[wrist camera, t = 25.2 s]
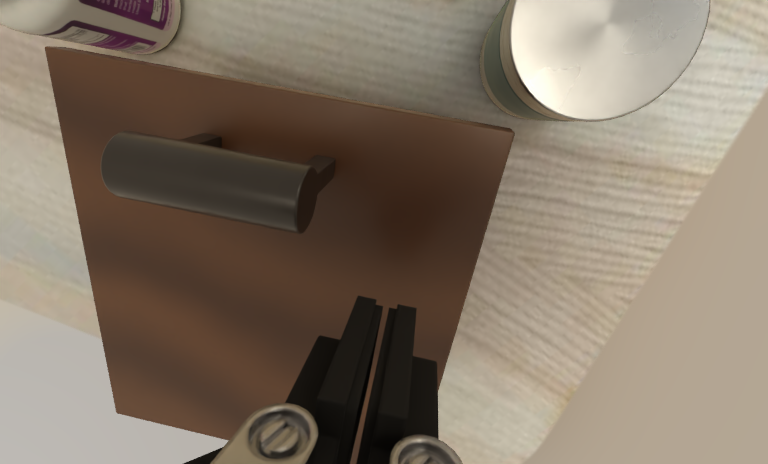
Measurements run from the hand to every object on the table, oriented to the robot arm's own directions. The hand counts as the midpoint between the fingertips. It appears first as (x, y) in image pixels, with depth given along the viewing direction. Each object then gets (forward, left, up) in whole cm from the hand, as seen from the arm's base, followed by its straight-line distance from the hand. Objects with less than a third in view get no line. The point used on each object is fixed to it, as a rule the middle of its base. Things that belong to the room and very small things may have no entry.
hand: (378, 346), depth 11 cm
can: (-10, +5, -13) cm, 17 cm away
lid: (+2, -5, -5) cm, 7 cm away
